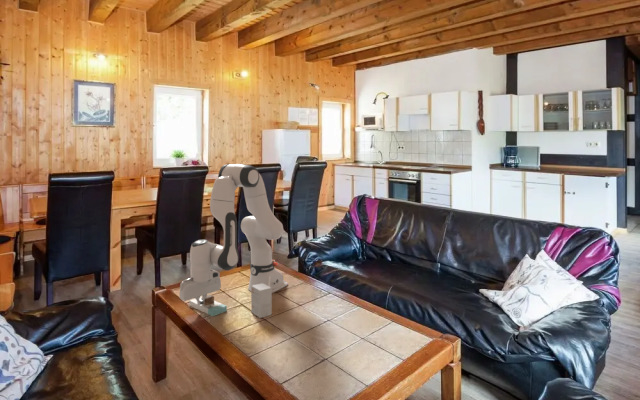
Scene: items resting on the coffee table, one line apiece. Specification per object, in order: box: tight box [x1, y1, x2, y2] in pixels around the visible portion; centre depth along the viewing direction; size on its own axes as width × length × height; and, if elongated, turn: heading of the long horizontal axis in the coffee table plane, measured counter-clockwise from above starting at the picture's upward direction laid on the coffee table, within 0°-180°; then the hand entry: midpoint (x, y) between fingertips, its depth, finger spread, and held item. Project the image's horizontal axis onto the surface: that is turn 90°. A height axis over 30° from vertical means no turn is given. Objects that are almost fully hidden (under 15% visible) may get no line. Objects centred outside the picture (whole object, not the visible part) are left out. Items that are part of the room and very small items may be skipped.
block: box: [204, 294, 215, 305], centre depth 194 cm, size 4×4×3 cm
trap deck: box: [188, 296, 228, 317], centre depth 194 cm, size 8×18×2 cm, turn 50°
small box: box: [250, 283, 273, 319], centre depth 189 cm, size 8×6×13 cm
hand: (200, 304), depth 191 cm, fingers closed
